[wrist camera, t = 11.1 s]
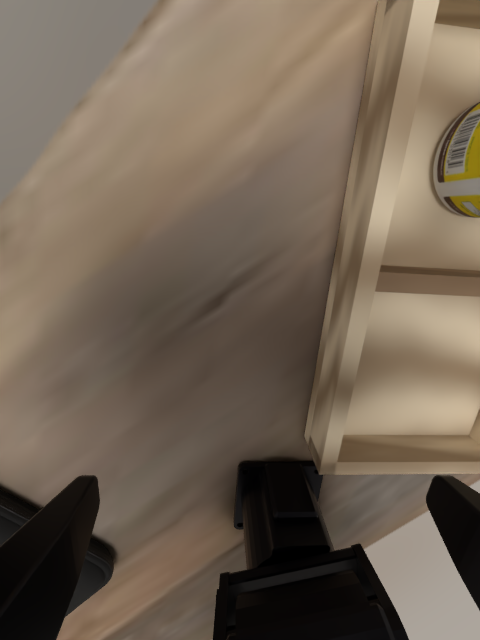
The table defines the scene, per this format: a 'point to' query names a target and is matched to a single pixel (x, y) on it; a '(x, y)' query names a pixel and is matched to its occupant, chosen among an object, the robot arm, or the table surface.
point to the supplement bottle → (460, 165)
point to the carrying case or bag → (11, 514)
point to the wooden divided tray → (404, 264)
